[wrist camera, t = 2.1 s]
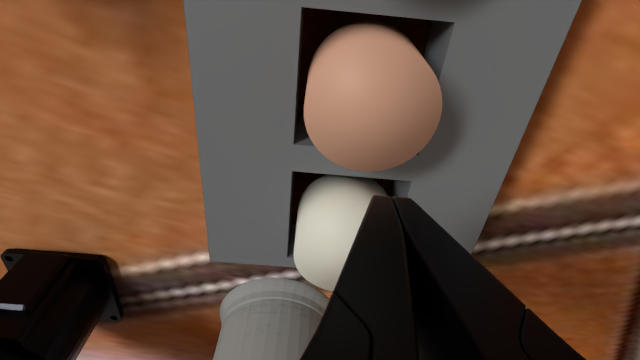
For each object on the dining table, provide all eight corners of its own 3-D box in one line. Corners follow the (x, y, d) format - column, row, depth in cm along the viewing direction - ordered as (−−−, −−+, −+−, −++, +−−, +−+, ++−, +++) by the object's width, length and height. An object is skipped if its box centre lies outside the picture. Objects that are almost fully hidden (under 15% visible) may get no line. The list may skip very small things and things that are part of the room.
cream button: (380, 246, 21) (388, 295, 18) (295, 240, 21) (291, 288, 18) (398, 175, 19) (410, 220, 16) (301, 167, 18) (296, 211, 16)
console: (446, 242, 24) (460, 279, 21) (222, 225, 23) (209, 260, 21) (626, -239, 12) (703, -282, 10) (185, -296, 12) (147, -356, 9)
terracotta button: (407, 136, 17) (423, 176, 15) (304, 127, 17) (299, 166, 14) (434, 26, 15) (460, 50, 12) (312, 14, 15) (308, 35, 12)
